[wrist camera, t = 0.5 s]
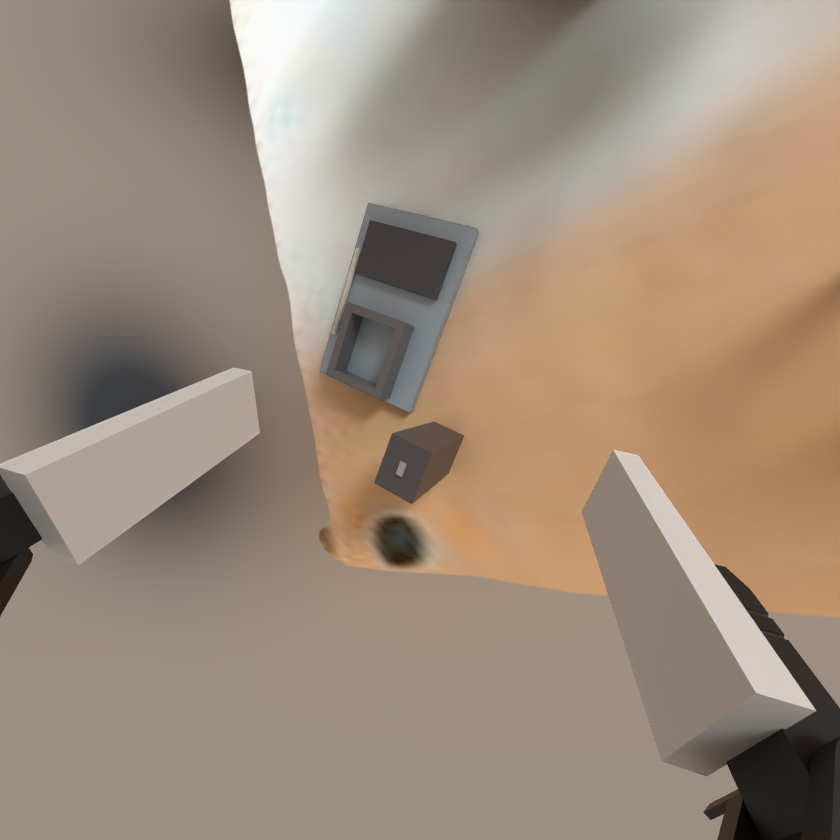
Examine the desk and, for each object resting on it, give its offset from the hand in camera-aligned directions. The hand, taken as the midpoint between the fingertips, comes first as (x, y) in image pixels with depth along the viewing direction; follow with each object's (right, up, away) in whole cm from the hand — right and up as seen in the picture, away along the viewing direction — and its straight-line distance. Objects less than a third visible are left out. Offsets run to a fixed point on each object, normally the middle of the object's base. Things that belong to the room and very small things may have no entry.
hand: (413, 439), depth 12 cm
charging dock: (-3, +14, +27) cm, 31 cm away
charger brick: (+3, -3, +26) cm, 27 cm away
